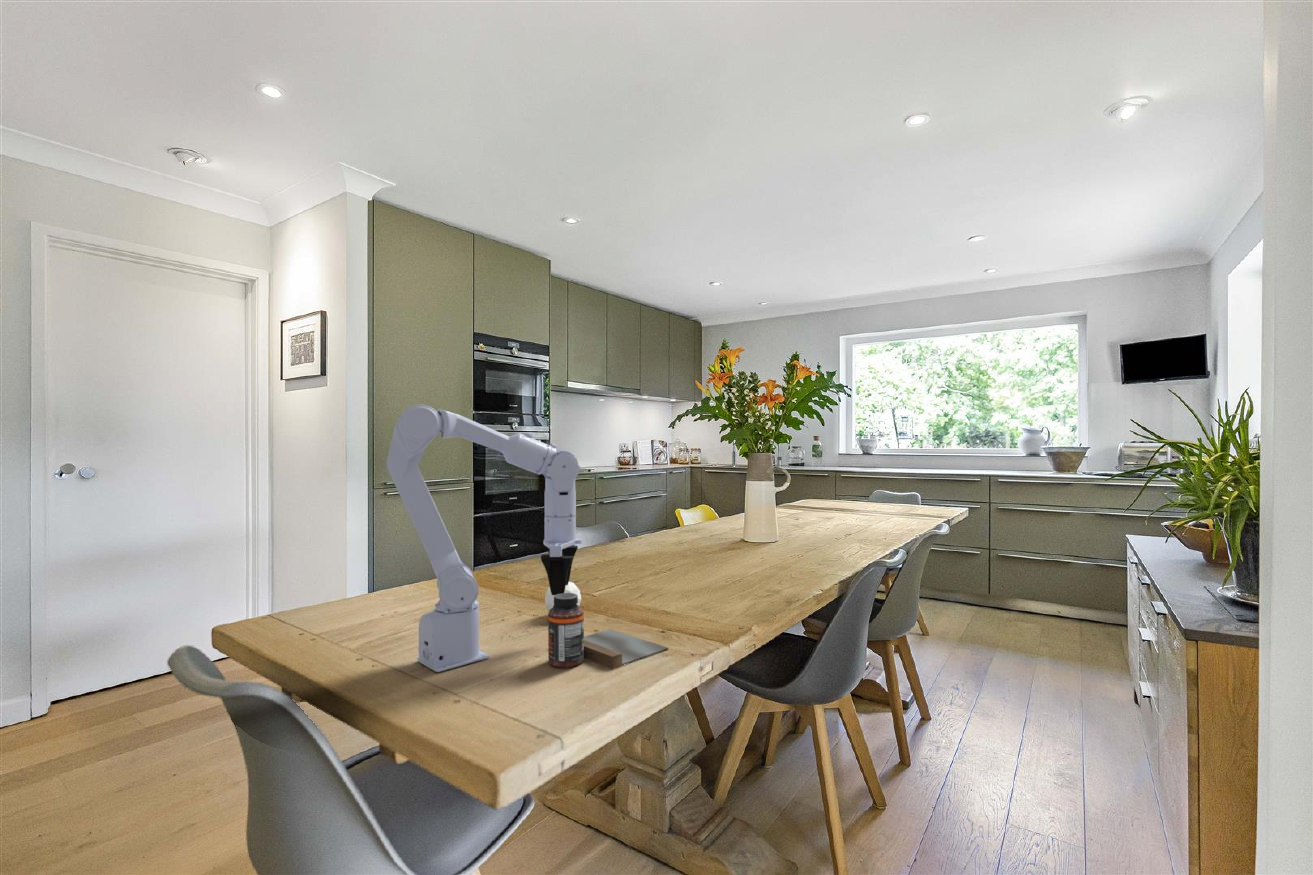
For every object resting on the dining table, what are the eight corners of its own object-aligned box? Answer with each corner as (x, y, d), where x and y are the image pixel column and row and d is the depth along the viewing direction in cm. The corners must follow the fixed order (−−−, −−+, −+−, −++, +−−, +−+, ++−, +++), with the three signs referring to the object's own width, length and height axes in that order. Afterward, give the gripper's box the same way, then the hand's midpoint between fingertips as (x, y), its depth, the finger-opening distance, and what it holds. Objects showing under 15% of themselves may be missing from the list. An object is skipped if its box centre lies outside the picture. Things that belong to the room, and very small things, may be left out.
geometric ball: (566, 632, 126) (561, 608, 121) (540, 613, 130) (534, 589, 125) (590, 608, 131) (586, 584, 126) (564, 591, 135) (560, 567, 130)
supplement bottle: (545, 659, 102) (545, 592, 102) (579, 654, 104) (579, 589, 104) (551, 671, 97) (551, 601, 97) (587, 666, 99) (587, 597, 99)
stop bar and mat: (612, 668, 97) (612, 656, 97) (555, 646, 109) (555, 635, 109) (668, 649, 106) (668, 638, 106) (610, 630, 118) (610, 620, 118)
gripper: (578, 520, 103) (578, 599, 102) (584, 511, 117) (584, 580, 117) (537, 520, 102) (537, 599, 102) (548, 511, 117) (548, 581, 117)
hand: (560, 589), depth 109 cm, fingers open, 7 cm apart
